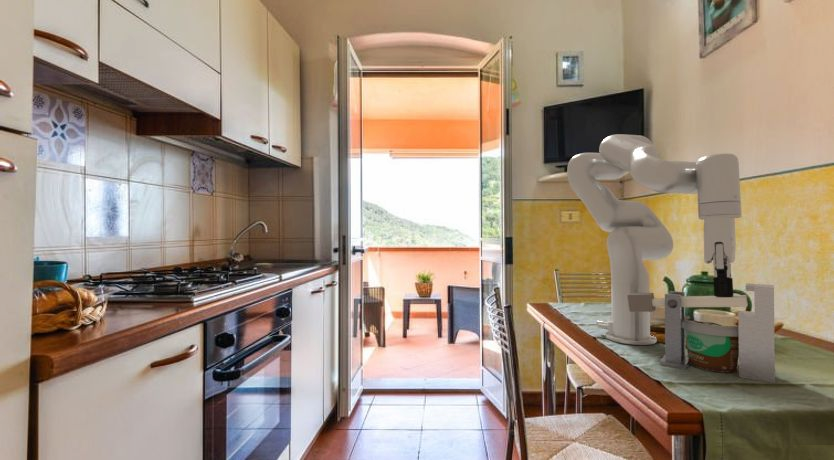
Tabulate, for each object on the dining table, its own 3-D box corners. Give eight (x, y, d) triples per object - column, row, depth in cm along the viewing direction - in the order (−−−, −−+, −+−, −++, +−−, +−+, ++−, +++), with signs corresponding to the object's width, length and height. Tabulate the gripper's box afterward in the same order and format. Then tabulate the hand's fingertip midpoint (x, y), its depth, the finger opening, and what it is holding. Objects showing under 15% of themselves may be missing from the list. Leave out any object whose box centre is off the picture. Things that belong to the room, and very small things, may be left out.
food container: (669, 360, 95) (668, 317, 95) (687, 357, 97) (687, 315, 97) (725, 377, 83) (724, 329, 83) (744, 373, 86) (744, 326, 86)
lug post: (739, 376, 84) (738, 285, 84) (740, 370, 88) (739, 283, 88) (774, 383, 81) (773, 287, 81) (774, 376, 85) (773, 285, 85)
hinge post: (659, 364, 92) (659, 294, 93) (666, 356, 99) (665, 290, 99) (685, 369, 89) (685, 296, 89) (691, 360, 95) (690, 292, 95)
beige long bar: (629, 311, 99) (627, 295, 99) (633, 309, 101) (630, 293, 102) (748, 311, 84) (744, 292, 84) (748, 309, 87) (745, 290, 87)
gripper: (702, 214, 96) (706, 292, 96) (693, 210, 85) (698, 299, 84) (742, 212, 92) (747, 294, 91) (739, 208, 80) (744, 301, 79)
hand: (723, 296), depth 87 cm, fingers closed
